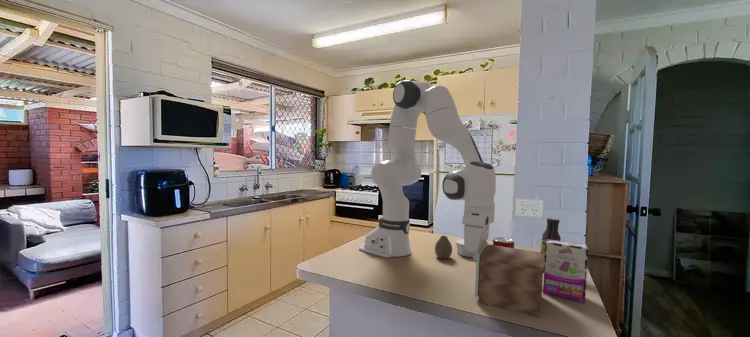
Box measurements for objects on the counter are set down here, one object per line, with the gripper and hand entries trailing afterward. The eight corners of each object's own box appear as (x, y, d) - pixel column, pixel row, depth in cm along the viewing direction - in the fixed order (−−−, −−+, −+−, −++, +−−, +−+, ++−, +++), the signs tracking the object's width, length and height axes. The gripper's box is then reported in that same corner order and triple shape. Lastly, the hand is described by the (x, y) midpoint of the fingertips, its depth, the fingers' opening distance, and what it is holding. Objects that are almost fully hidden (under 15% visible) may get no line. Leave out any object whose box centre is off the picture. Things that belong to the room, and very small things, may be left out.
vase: (433, 259, 129) (434, 237, 129) (436, 253, 136) (436, 233, 135) (450, 261, 127) (451, 239, 127) (452, 256, 133) (453, 235, 133)
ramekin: (450, 253, 138) (450, 241, 137) (464, 248, 145) (464, 236, 145) (473, 260, 129) (474, 247, 129) (487, 254, 137) (488, 242, 137)
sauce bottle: (536, 270, 120) (539, 217, 119) (541, 266, 124) (544, 215, 123) (556, 275, 115) (559, 220, 114) (560, 271, 120) (563, 218, 119)
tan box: (478, 302, 93) (480, 256, 92) (486, 284, 105) (488, 244, 105) (540, 317, 85) (543, 267, 85) (541, 296, 98) (543, 253, 97)
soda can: (514, 277, 113) (516, 243, 112) (492, 274, 114) (494, 241, 114) (510, 269, 120) (512, 238, 119) (489, 267, 121) (491, 236, 121)
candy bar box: (584, 296, 99) (588, 244, 98) (585, 303, 94) (588, 248, 93) (543, 287, 104) (546, 238, 103) (542, 293, 100) (545, 241, 99)
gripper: (475, 208, 109) (473, 248, 110) (460, 219, 91) (458, 267, 92) (494, 211, 106) (492, 252, 107) (483, 222, 88) (481, 271, 89)
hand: (476, 259), depth 99 cm, fingers closed, pressing on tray
